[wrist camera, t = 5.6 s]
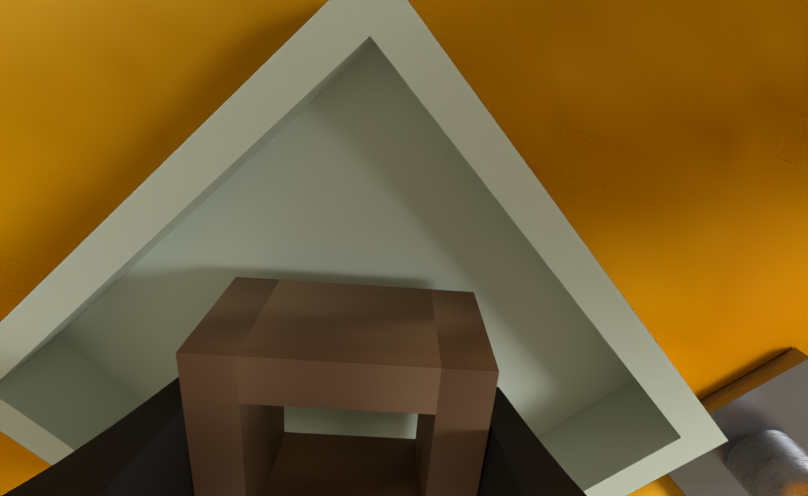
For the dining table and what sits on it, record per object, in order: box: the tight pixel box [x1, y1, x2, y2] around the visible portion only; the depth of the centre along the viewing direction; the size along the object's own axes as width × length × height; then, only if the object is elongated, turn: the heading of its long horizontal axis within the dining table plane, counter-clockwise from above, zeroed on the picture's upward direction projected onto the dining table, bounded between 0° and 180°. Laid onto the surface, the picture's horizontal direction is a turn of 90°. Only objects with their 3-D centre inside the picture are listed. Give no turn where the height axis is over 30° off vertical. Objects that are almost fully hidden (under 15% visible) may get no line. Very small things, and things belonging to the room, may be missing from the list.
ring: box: [176, 277, 499, 496], centre depth 10 cm, size 6×6×3 cm
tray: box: [0, 0, 728, 496], centre depth 11 cm, size 13×13×3 cm
